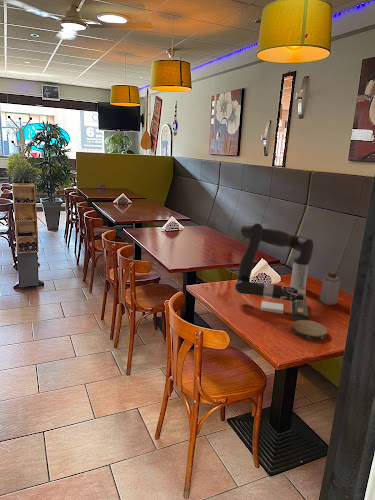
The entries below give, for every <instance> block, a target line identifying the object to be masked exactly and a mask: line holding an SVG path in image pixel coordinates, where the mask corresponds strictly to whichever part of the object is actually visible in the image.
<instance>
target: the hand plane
mask: <svg viewBox="0 0 375 500" xmlns="http://www.w3.org/2000/svg"><path fill="white" fill-rule="evenodd" d="M295 295H297V294H296V293H295ZM307 302H308V301H307V298H305V301H304V307H303V308H300V307H296V305H295V303H296V300H294V301H290V320H292V321H298V320H308V318H309V311H308V304H307Z"/></svg>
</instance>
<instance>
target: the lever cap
mask: <svg viewBox="0 0 375 500" xmlns="http://www.w3.org/2000/svg"><path fill="white" fill-rule="evenodd" d="M306 288H307V287H306V286H305V287H300V286H298V289H297V295H298V296H303V297H304V298H303V300H296V303H295V305H296V307H300V308H303V307H304V301H305V299H306V293H307V289H306Z"/></svg>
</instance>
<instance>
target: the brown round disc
mask: <svg viewBox="0 0 375 500" xmlns="http://www.w3.org/2000/svg"><path fill="white" fill-rule="evenodd" d="M291 332H292V333H293V334H294V335H295V336H297V337H298V338H301V339H303V340H307V341H314V342H316V341H319V342H320V341H323V340H325V339H326V338H327V336H328V335H327V334H328V328H327V327H325V326H324V324H321V323H320V322H316V321H312V320H298V321H297V320H294V321H293V322H292V327H291Z"/></svg>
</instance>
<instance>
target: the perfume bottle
mask: <svg viewBox="0 0 375 500" xmlns="http://www.w3.org/2000/svg"><path fill="white" fill-rule="evenodd" d="M337 275H338V273H336V272H334V271H329V272H328V273H327V274H326V275H324V277H325V278H324V277H323V278H322V281H321V289H320V293H319V302H322V303H323V304H324V305H326V306H328V305H330V306H331V305H337V302H338V297H339V293H340V286H341V282H340V281H339V279H340V278H339V277H338V276H337Z"/></svg>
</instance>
